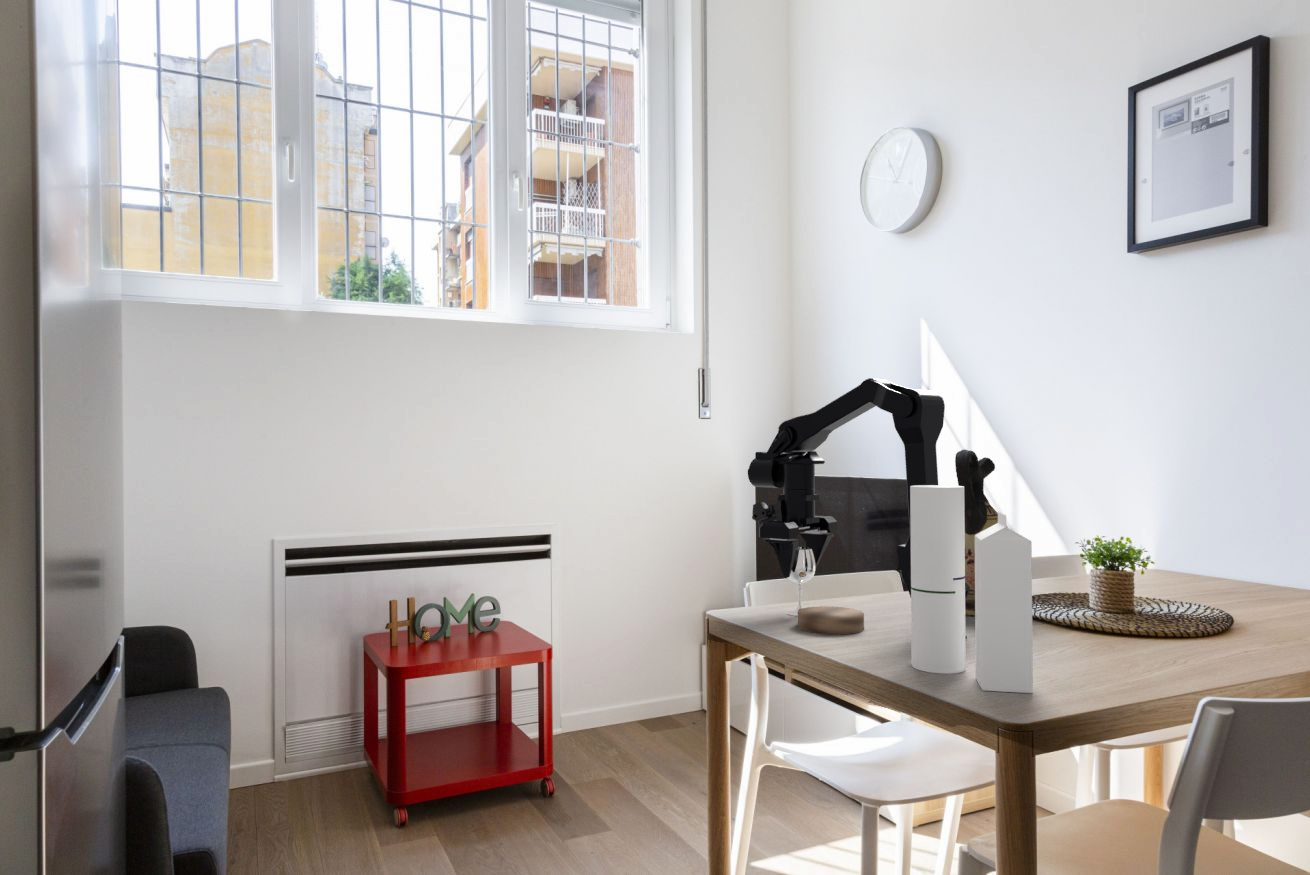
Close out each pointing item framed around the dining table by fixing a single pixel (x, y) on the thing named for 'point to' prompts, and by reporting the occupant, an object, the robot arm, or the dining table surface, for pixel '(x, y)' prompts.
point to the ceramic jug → (974, 511)
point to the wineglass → (802, 571)
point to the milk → (1003, 609)
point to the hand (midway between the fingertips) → (799, 574)
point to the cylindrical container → (938, 578)
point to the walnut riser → (830, 620)
